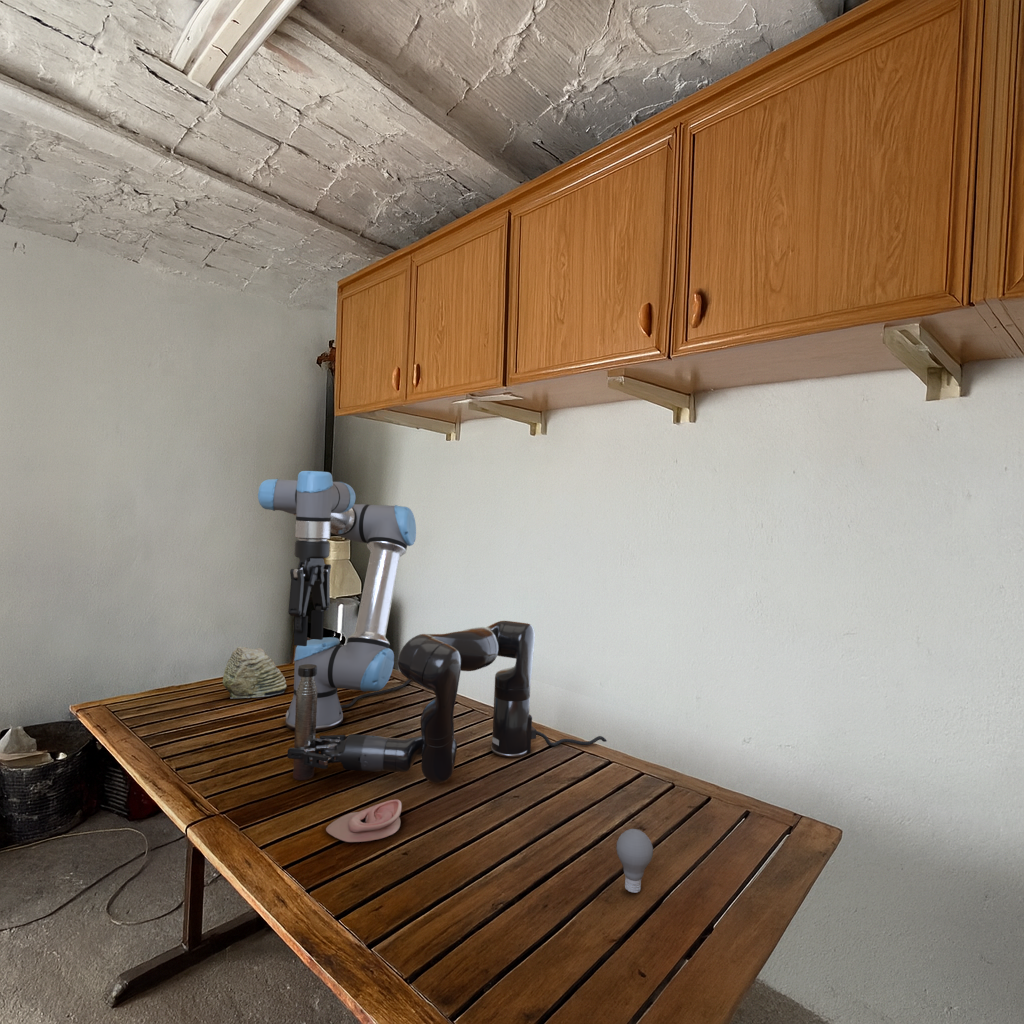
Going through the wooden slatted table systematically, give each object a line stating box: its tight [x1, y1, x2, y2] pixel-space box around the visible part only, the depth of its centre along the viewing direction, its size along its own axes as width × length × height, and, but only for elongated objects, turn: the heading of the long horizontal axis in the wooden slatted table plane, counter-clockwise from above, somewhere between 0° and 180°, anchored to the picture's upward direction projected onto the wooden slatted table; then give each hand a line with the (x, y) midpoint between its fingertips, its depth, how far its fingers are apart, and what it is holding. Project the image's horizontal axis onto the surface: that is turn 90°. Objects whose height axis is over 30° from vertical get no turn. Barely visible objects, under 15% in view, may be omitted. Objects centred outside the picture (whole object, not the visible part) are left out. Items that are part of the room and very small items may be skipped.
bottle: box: [292, 676, 317, 781], centre depth 143 cm, size 4×4×24 cm
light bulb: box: [615, 828, 654, 894], centre depth 106 cm, size 6×6×10 cm
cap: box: [298, 664, 317, 677], centre depth 143 cm, size 4×4×2 cm
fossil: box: [222, 646, 288, 699], centre depth 198 cm, size 9×18×15 cm, turn 132°
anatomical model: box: [325, 799, 403, 843], centre depth 122 cm, size 13×4×12 cm
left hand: (308, 641), depth 143 cm, fingers open, 6 cm apart
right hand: (293, 748), depth 143 cm, fingers closed on bottle, 4 cm apart
